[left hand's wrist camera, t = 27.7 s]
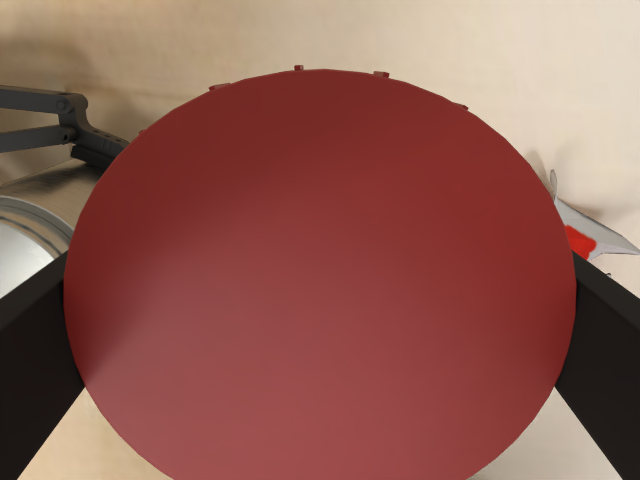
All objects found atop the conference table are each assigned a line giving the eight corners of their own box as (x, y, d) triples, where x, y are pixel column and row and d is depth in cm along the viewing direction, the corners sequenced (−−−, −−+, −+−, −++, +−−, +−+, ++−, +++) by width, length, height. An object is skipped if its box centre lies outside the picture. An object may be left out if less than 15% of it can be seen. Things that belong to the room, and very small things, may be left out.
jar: (46, 188, 40) (-158, 278, 23) (131, 121, 38) (-23, 164, 21) (126, 274, 43) (-3, 410, 26) (209, 216, 41) (129, 322, 24)
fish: (451, 342, 40) (550, 370, 31) (472, 169, 41) (573, 147, 32) (538, 350, 44) (647, 377, 35) (554, 194, 46) (663, 180, 37)
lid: (346, 506, 15) (351, 580, 12) (31, 320, 12) (-30, 373, 10) (621, 261, 12) (689, 304, 9) (275, -52, 9) (261, -88, 7)
